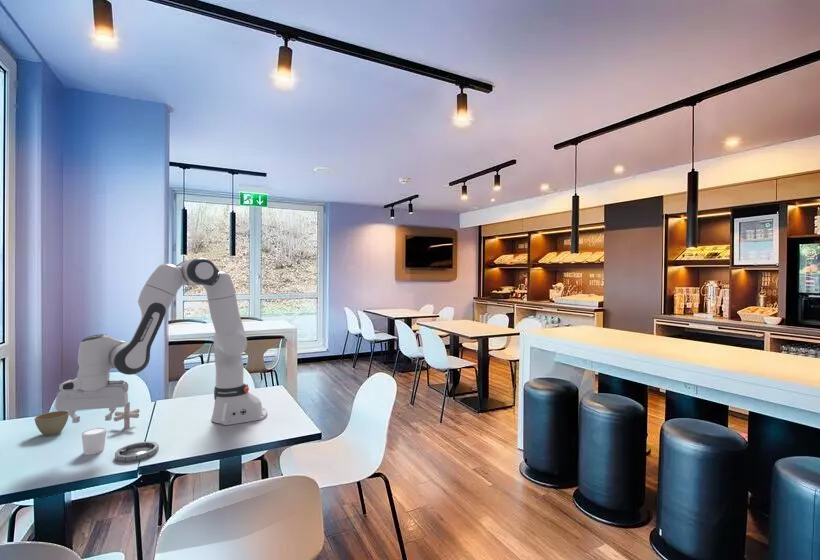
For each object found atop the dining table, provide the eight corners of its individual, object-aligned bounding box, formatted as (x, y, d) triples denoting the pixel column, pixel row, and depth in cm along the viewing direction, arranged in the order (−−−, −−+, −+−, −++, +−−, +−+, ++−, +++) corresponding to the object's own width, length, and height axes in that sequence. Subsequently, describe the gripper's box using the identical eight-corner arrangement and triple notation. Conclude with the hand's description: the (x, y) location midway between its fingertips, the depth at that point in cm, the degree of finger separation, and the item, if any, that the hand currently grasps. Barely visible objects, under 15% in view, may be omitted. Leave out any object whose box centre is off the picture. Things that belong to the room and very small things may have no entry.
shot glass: (90, 447, 142) (90, 427, 142) (110, 446, 142) (111, 427, 142) (76, 455, 135) (76, 435, 135) (97, 455, 135) (97, 435, 135)
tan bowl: (67, 426, 160) (68, 408, 160) (70, 433, 153) (70, 415, 153) (34, 433, 154) (34, 414, 153) (34, 441, 146) (34, 421, 146)
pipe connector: (126, 433, 154) (126, 407, 154) (104, 430, 156) (105, 405, 156) (147, 423, 164) (147, 399, 164) (127, 421, 166) (127, 398, 166)
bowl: (162, 444, 144) (162, 440, 144) (152, 459, 133) (152, 454, 133) (123, 449, 140) (123, 444, 140) (109, 464, 129) (109, 458, 129)
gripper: (131, 377, 144) (130, 415, 144) (63, 380, 138) (61, 420, 138) (125, 382, 138) (124, 421, 138) (53, 385, 132) (52, 427, 132)
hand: (92, 421), depth 138 cm, fingers open, 8 cm apart
